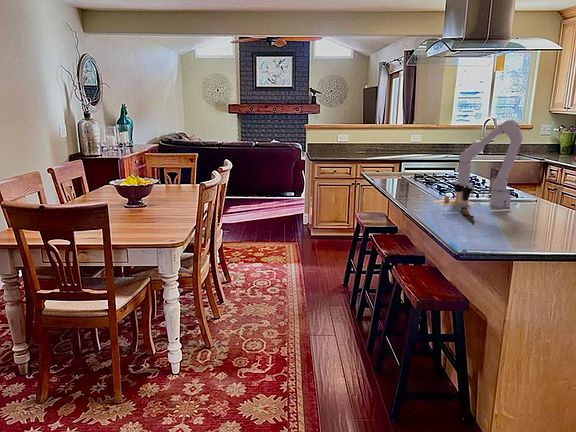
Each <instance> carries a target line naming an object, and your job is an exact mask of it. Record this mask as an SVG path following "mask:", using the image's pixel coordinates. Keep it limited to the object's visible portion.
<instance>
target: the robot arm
mask: <svg viewBox="0 0 576 432" xmlns="http://www.w3.org/2000/svg"><path fill="white" fill-rule="evenodd" d="M504 134H505V135H507V136H508V138H509V140H510V143H509V146H508V149H507V151H506V154H505V156H504V159H503V160H502V164H501V166H500V167H499V168H500V171H499V173H498V175H497V177H496V179H495V180H494V181H493V182H492V186H493V188H492V191H491V196H490V201H489V204H490V206H492V207H497V208H498V209H505V208H506V210H509V209H511V208H510V207H511V198H512V197H511V196H512V195H511V194H510V192H508V188H507V186H508V183H509V180H508V178H509V176H510V172H511V170H512V167H513V164H514V163H515V159H516V157H517V155H518V152H519V149H520V146H521V145H522V142H523V135H522V131H521V127H520V125H519V123H518V122H517V121H516V120H514V119H509V120H506V121H503V123H501V124H499V125H497V126H496V127H494V128H493V129H492V130H491V131H490V132H489V133H487V135H485V136H484V137H483V138H482V139H481V140H476V141H473V142H471V145H469V147H468V148H465V149H464V151H462V152H461V153H460V154H459V157H458V160H459V165H458V177H457V180H454V183H453V188H454V192H455V193H456V192H463V201H467V200H468V198H469V199H470V194H471V193H472V192H473V190H474V184H472V183H471V182H470V180H471V179H470V178H471V167H472V166H471V165H472V164H471V163H472V160H473V158H476V156H477V155H479V154H480V153H482V151H484V150H485V146H486V145H487V144H488V143H490V142H491V141H492V140H494V138H496V137H497V136H499V135H504Z"/></svg>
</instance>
